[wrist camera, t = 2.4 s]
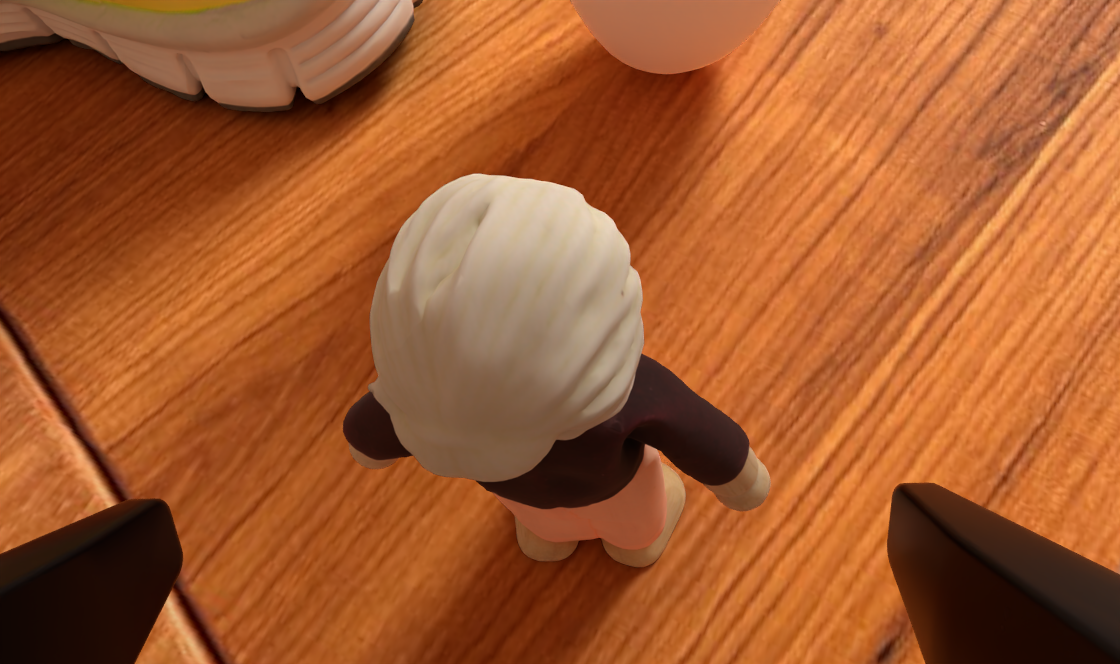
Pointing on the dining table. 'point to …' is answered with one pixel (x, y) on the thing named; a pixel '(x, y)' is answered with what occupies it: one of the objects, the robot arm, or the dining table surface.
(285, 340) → the dining table surface
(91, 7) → the running shoe
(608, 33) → the white bulb air blower
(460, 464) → the grandmother figurine
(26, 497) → the dining table surface
